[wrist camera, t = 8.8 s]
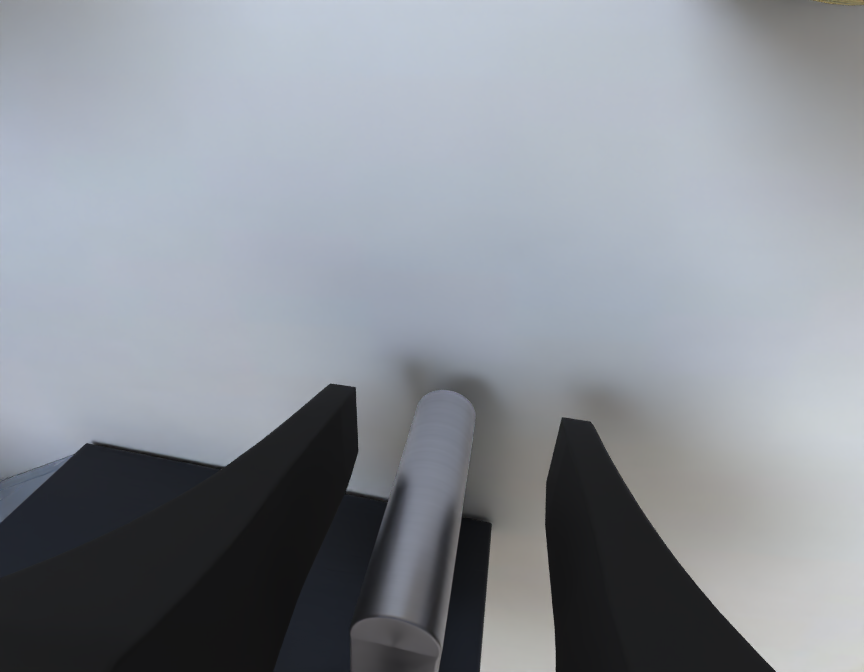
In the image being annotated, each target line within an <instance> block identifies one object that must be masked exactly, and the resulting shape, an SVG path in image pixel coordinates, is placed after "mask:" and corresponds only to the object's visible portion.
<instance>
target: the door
mask: <svg viewBox="0 0 864 672" xmlns="http://www.w3.org/2000/svg"><path fill="white" fill-rule="evenodd" d="M475 421H476V412H475V409H474V407H473V405H472V404H471V402H470V401H469V400H468V399H467V398H465V397H464V396H463V395H461V394H459V393H457V392H454V391H450V390H436V391H433V392H430V393H428V394H426V395H425V396H424V397H423V398H422V399H421V400H420V401H419V403H418V406H417V409H416V412H415V415H414V418H413V422H412V425H411V428H410V432H409V435H408V438H407V441H406V445H405V448H404V451H403V454H402V458H401V461H400V464H399V467H398V471H397V474H396V477H395V480H394V484H393V487H392V490H391V494H390V497H389V500H388V502H383V501H377V500H372V499H367V498H362V497H357V496H352V495H347V494H344V496H343V499H342V501H341V503H340V505H339V508H338V510H337V512H336V514H335V517H334V519H333V521H332V523H331V525H330V528H329V530H328V532H327V534H326V536H325V538H324V541H323V543H322V545H321V547H320V549H319V552H318V554H317V556H316V558H315V560H314V562H313V565H312V567H311V569H310V571H309V573H308V576H307V578H306V580H305V583H304V585H303V588H302V590H301V592H300V595H299V597H298V600H297V603H296V606H295V609H294V612H293V615H292V617H291V620H290V623H289V626H288V629H287V632H286V635H285V638H284V640H283V643H282V646H281V649H280V652H279V655H278V658H277V662H276V665H275V668H274V671H273V672H480V662H481V650H482V638H483V626H484V614H485V601H486V589H487V577H488V565H489V553H490V541H491V528H492V524H491V523H489V522H484V521H479V520H474V519H469V518H464V517H462V511H463V504H464V497H465V490H466V483H467V476H468V470H469V463H470V456H471V449H472V442H473V435H474V428H475ZM218 471H220V469H215V468H210V467H205V466H200V465H195V464H189V463H184V462H179V461H174V460H169V459H164V458H159V457H154V456H149V455H144V454H139V453H134V452H128V451H123V450H118V449H113V448H108V447H103V446H98V445H93V444H88V443H87V444H85V445H84V446H83V447H82V448H81V449H80V450H78V451H77V452H76V453H75V454H74V455H73V456H72V457H71V458H70V459H69V460H68V461H67V462H65V463H64V464H63V465H62V466H61V467H60V468H59V469H58V470H57V471H56V472H55V473H54V474H53V475H51V476H50V477H49V478H48V479H47V480H46V481H45V482H44V483H43V484H42V485H41V486H40V487H38V488H37V489H36V490H35V491H34V492H33V493H32V494H31V495H30V496H29V497H28V498H27V499H26V500H24V501H23V502H22V503H21V504H20V505H19V506H18V507H17V508H16V509H15V510H14V511H13V512H11V513H10V514H9V515H8V516H7V517H6V518H5V519H4V520H3V521H2V522H1V523H0V578H2V577H4V576H7V575H9V574H12V573H14V572H17V571H20V570H22V569H25V568H27V567H30V566H32V565H35V564H37V563H40V562H42V561H45V560H48V559H50V558H53V557H55V556H57V555H60V554H62V553H64V552H67V551H69V550H71V549H74V548H76V547H78V546H80V545H83V544H85V543H87V542H89V541H91V540H94V539H96V538H98V537H100V536H102V535H104V534H107V533H109V532H111V531H113V530H115V529H117V528H119V527H121V526H123V525H125V524H127V523H129V522H131V521H133V520H135V519H137V518H139V517H141V516H143V515H144V514H146V513H148V512H150V511H152V510H154V509H156V508H157V507H159V506H161V505H163V504H165V503H167V502H169V501H171V500H172V499H174V498H176V497H178V496H180V495H181V494H183V493H185V492H186V491H188V490H190V489H191V488H193V487H195V486H196V485H198V484H199V483H201V482H203V481H204V480H206V479H207V478H209V477H211V476H212V475H214V474H215V473H217V472H218Z"/></svg>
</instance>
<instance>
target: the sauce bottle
mask: <svg viewBox="0 0 864 672" xmlns="http://www.w3.org/2000/svg"><path fill="white" fill-rule="evenodd" d="M813 1H818V2H824V3H829V4H838V5H850V6H853V5H864V0H813Z"/></svg>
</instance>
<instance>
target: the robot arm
mask: <svg viewBox="0 0 864 672" xmlns="http://www.w3.org/2000/svg"><path fill="white" fill-rule="evenodd" d="M357 454H358V430H357V407H356V387H351V386H344V385H337V384H329V385H328V386H327V387H325V388H324V389H323V390H322V391H321V392H319V393H318V394H317V395H316V396H315V397H313V398H312V399H311V400H310V401H309V402H308V403H306V404H305V405H304V406H303V407H302V408H301V409H299V410H298V411H297V412H296V413H295V414H293V415H292V416H291V417H290V418H289V419H287V420H286V421H285V422H284V423H283V424H281V425H280V426H279V427H278V428H276V429H275V430H274V431H273V432H271V433H270V434H269V435H268V436H266V437H265V438H264V439H262V440H261V441H260V442H259V443H257V444H256V445H255V446H253V447H252V448H250V449H249V450H248V451H246V452H245V453H244V454H242V455H241V456H239V457H238V458H237V459H235V460H234V461H233V462H231V463H230V464H228V465H227V466H226V467H224V468H223V469H221V470H220V471H218V472H217V473H215V474H214V475H212V476H211V477H209V478H207V479H206V480H204V481H203V482H201V483H199V484H198V485H196V486H195V487H193V488H191V489H190V490H188V491H186V492H185V493H183V494H181V495H180V496H178V497H176V498H174V499H172V500H171V501H169V502H167V503H165V504H163V505H161V506H159V507H157V508H156V509H154V510H152V511H150V512H148V513H146V514H144V515H143V516H141V517H139V518H137V519H135V520H133V521H131V522H129V523H127V524H125V525H123V526H121V527H119V528H117V529H115V530H113V531H111V532H109V533H107V534H104V535H102V536H100V537H98V538H96V539H94V540H91V541H89V542H87V543H85V544H83V545H80V546H78V547H76V548H74V549H71V550H69V551H67V552H64V553H62V554H60V555H57V556H55V557H53V558H50V559H48V560H45V561H42V562H40V563H37V564H35V565H32V566H30V567H27V568H25V569H22V570H20V571H17V572H14V573H12V574H9V575H7V576H4V577H2V578H0V672H273V671H274V668H275V665H276V662H277V658H278V655H279V652H280V649H281V646H282V643H283V640H284V638H285V635H286V632H287V629H288V626H289V623H290V620H291V617H292V615H293V612H294V609H295V606H296V603H297V600H298V597H299V595H300V592H301V590H302V588H303V585H304V583H305V580H306V578H307V576H308V573H309V571H310V569H311V567H312V565H313V562H314V560H315V558H316V556H317V554H318V552H319V549H320V547H321V545H322V543H323V541H324V538H325V536H326V534H327V532H328V530H329V528H330V525H331V523H332V521H333V519H334V517H335V514H336V512H337V510H338V508H339V505H340V503H341V501H342V499H343V496H344V494H345V492H346V489H347V486H348V483H349V480H350V477H351V474H352V471H353V468H354V464H355V461H356V458H357ZM545 527H546V539H547V550H548V562H549V572H550V583H551V594H552V605H553V615H554V626H555V645H556V672H776V671H775V670H774V669H773V668H772V667H771V666H770V665H769V664H768V663H767V662H766V661H765V660H764V659H763V658H762V657H761V656H760V655H759V654H758V653H757V652H756V651H755V649H754V648H753V647H752V646H751V645H750V644H749V643H748V642H747V641H746V640H745V639H744V638H743V637H742V635H741V634H740V633H739V632H738V631H737V630H736V629H735V628H734V627H733V626H732V625H731V624H730V623H729V622H728V620H727V619H726V618H725V617H724V616H723V615H722V614H721V613H720V612H719V611H718V609H717V608H716V607H715V606H714V605H713V604H712V602H711V601H710V600H709V599H708V598H707V597H706V595H705V594H704V593H703V592H702V591H701V590H700V588H699V587H698V586H697V585H696V583H695V582H694V581H693V580H692V578H691V577H690V576H689V575H688V573H687V572H686V571H685V570H684V568H683V567H682V566H681V565H680V563H679V562H678V561H677V559H676V558H675V557H674V555H673V554H672V553H671V551H670V550H669V549H668V547H667V546H666V544H665V543H664V542H663V540H662V539H661V537H660V536H659V534H658V533H657V532H656V530H655V529H654V527H653V526H652V524H651V523H650V522H649V520H648V519H647V517H646V516H645V514H644V513H643V511H642V509H641V508H640V506H639V505H638V503H637V502H636V500H635V498H634V497H633V495H632V494H631V492H630V490H629V489H628V487H627V485H626V484H625V482H624V481H623V479H622V477H621V475H620V474H619V472H618V470H617V469H616V467H615V465H614V463H613V461H612V460H611V458H610V456H609V454H608V452H607V450H606V449H605V447H604V445H603V443H602V441H601V439H600V437H599V435H598V433H597V431H596V429H595V427H594V426H593V424H592V423H591V422H590V421H583V420H576V419H569V418H563V417H562V420H561V424H560V428H559V432H558V436H557V440H556V444H555V448H554V452H553V457H552V461H551V465H550V469H549V473H548V477H547V481H546V513H545Z"/></svg>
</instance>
